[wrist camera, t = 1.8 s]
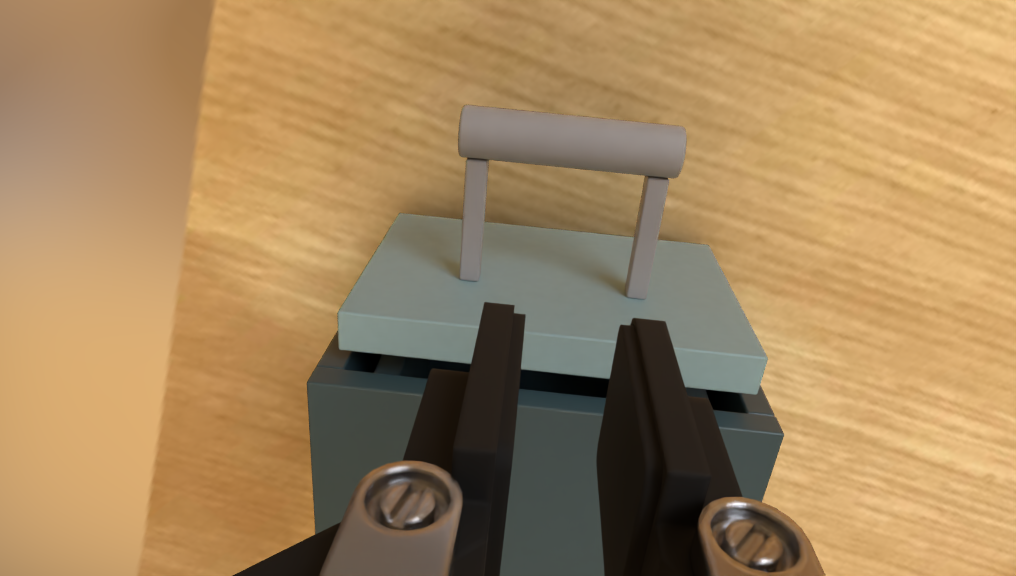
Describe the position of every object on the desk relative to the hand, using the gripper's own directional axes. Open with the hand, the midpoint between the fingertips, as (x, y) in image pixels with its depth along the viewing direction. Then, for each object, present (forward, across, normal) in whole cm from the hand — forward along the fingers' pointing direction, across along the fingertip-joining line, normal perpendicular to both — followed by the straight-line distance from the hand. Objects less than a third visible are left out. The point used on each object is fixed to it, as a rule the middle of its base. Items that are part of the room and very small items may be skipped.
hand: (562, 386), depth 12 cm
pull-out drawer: (+13, 0, +6) cm, 15 cm away
